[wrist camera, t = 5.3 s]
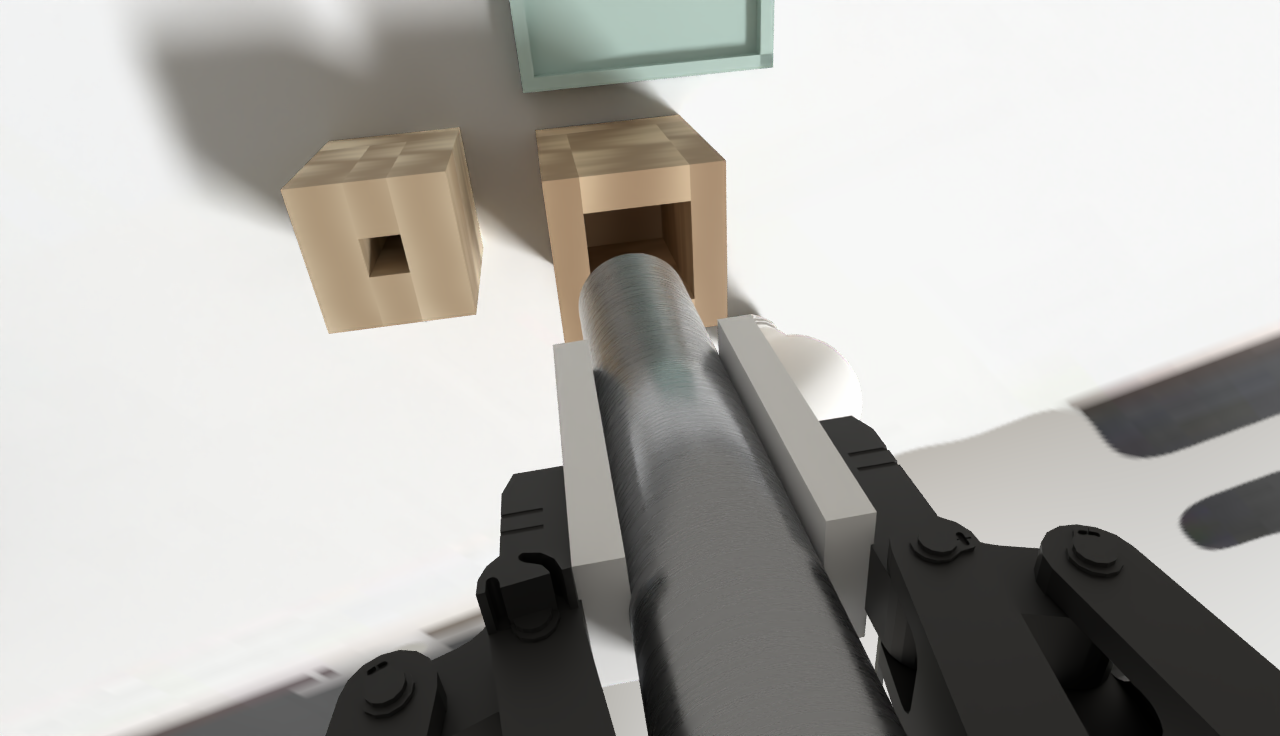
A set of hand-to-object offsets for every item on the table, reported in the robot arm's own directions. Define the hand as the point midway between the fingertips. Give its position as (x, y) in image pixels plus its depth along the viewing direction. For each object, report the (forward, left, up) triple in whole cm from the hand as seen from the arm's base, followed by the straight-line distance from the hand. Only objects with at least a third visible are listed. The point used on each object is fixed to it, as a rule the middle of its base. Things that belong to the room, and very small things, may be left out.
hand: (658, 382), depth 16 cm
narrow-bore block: (-9, -1, -22) cm, 24 cm away
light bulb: (+8, -11, -22) cm, 26 cm away
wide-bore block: (+1, -2, -22) cm, 22 cm away
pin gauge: (0, 0, -4) cm, 4 cm away
